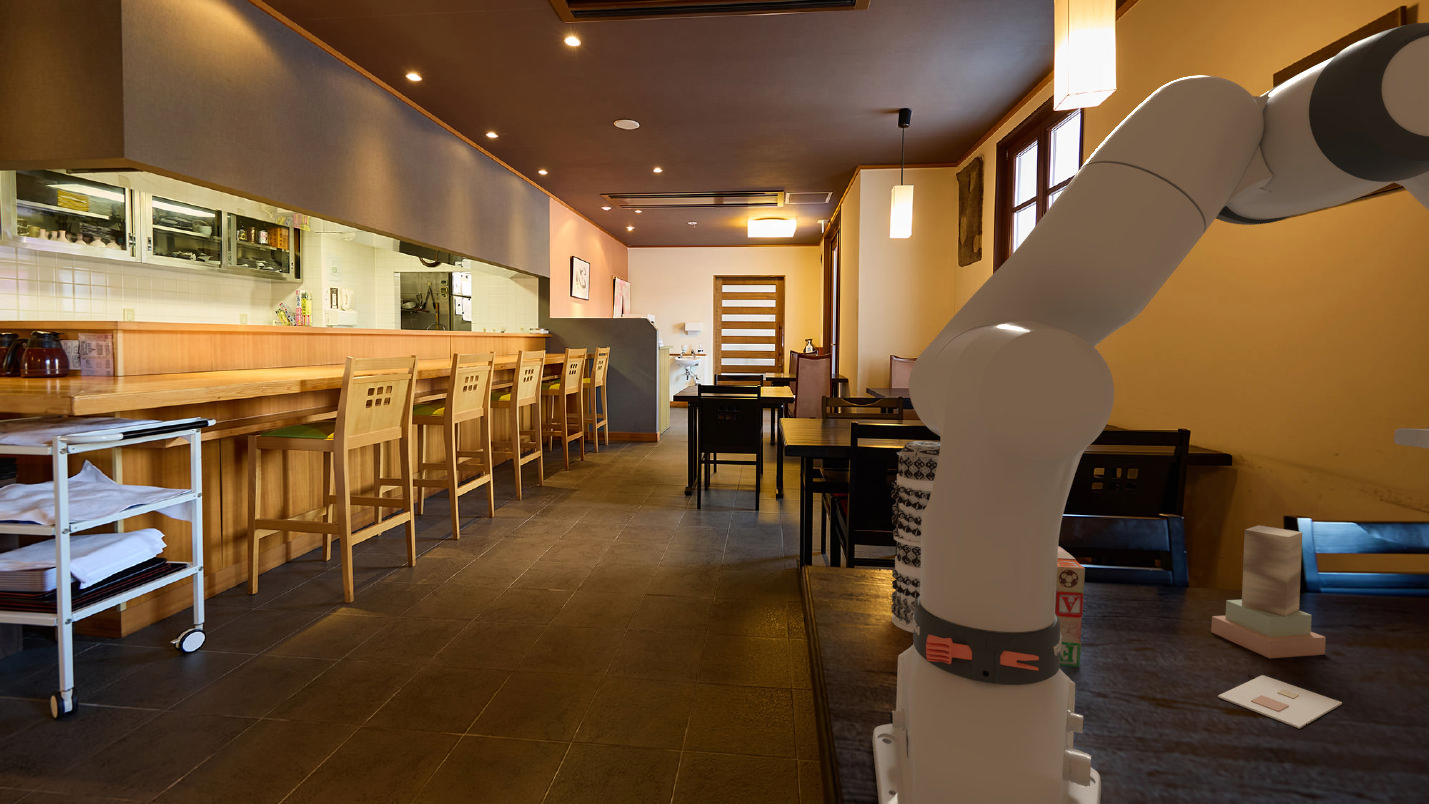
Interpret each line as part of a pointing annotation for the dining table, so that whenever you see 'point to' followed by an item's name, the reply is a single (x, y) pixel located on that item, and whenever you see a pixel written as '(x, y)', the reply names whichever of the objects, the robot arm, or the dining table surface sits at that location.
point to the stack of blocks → (1069, 606)
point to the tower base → (1267, 642)
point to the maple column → (1272, 570)
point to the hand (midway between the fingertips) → (1412, 434)
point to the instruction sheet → (1280, 701)
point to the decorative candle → (910, 524)
